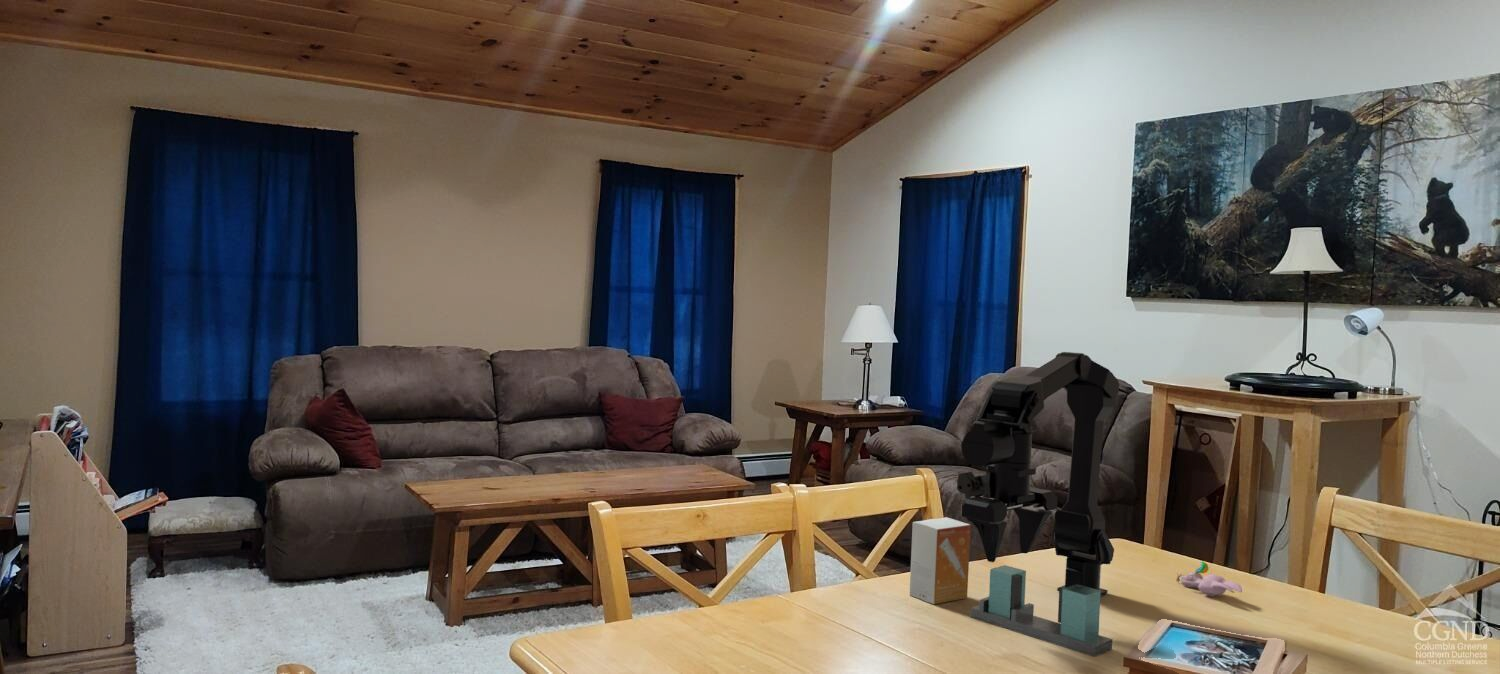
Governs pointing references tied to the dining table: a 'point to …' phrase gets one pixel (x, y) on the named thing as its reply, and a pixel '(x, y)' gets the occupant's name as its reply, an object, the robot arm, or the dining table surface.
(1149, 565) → the dining table surface
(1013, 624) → the rail
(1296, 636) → the dining table surface
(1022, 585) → the block
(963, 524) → the small box
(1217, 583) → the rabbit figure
